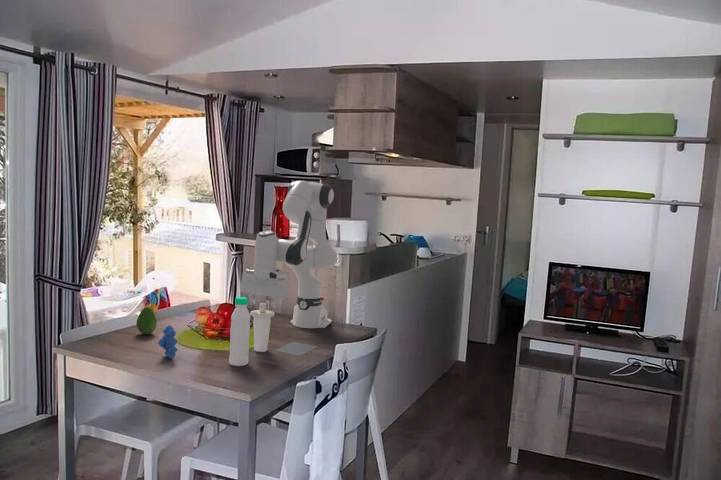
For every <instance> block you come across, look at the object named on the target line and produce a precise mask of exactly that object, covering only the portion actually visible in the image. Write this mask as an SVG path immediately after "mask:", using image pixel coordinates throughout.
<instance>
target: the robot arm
mask: <svg viewBox="0 0 721 480" xmlns="http://www.w3.org/2000/svg"><path fill="white" fill-rule="evenodd" d="M286 192H287V193H286V197H285V198H284V201H283V204H282V212H283V214H284V216H285V217H286V218H287V220H289V221H291V222H292V223H294V224H297V225H298V229H297V232H296V233H297V234H296V238H294V239H291V240H290V239H282V238H279V237H278V236H277V233H276V232H275V231H272V230H263V231H259V232H258V233H257V234H256V239H255V244H254V262H253V270H251V269H245V270H243V271H242V273H241V282H240V291H241V292H242V293H246V294H247V296H248V300H250V302H249V303H250V305H256V304H257V302H256V301H257V300H256V299H255V298H254V296H255V295H259V296H265V297H272V300H273V301H272V302H270V306H269V308H272V309H275V308H276V307H277V303H278V301H279V299H284V298H286V297H287V296H288V291H289V289H288V285H289V284H288V280H287V279H286V278H288V277H287V276H288V274H287V272H286V271H283V270H281V269H279V268H278V267H277V263H282V264H286V265H287V266H288V267H289V268H290V269H292V271H293V273H294V274H295V275H296V279H297V282H298V283H297V285H298V286H297V287H298V288H297V289H298V290H297V297H296V305H295V306H294V307H293V314H292V315H293V317H292V319H291V320H290V324H292V325H293V326H294V327H297V328H302V329H324V328H325V329H326V327H328V325H330V324H331V323H332V322H333V321H332V319H330V318H328V310H327V308H325V306H323V305H322V304H323V301H325V297H324V296H321V295H322V294H321V293H322V283H321V282H322V281H321V280H320V279H319V278H318V277H317V276H315V275H313V274H312V273H311V270H327V269H332V268H334V267H335V265H336V264H337V262H338V254H337V252H336V250H335V249H334V247H332V246H331V244H329V241H328V239H327V235H326V234H327V233H326V231H327V230H326V229H327V214H328V213H327V208H328V207H329V206H330V205H331V204H332V203H333V201H334V197H335V196H334V195H335V190H334V187H332V185H330V184H327V183H321V182H315V181H306V180H296V181H291V183H289V185H288V187H287V191H286ZM309 241H312V246H308V242H309Z"/></svg>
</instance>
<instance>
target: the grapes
mask: <svg viewBox="0 0 721 480" xmlns="http://www.w3.org/2000/svg"><path fill="white" fill-rule="evenodd" d="M162 332H163V336H162V338H160V339H159V340H158V342H157V344H158V346H160V348H162V349H163V350H165V352H164V355H165V356H166V357H167V358H168V359H170V360H173V359H174V358H175V356H176V355H177V354H176V353H177V351H178V348H177V347H176V346H175V345H177V344H178V340H177V338H175V336H176V334H177V333H176V331H175V329H174V328H173V326H172V325H170V324H168V325H167V326H166V327H165V328H164V329H163V330H162Z"/></svg>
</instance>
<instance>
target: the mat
mask: <svg viewBox="0 0 721 480" xmlns="http://www.w3.org/2000/svg"><path fill="white" fill-rule="evenodd" d="M316 348H318V345H313V344H306V343H301V342H295V341H291V342H290V343H288V344H286V345H284V346H281V347H279V348H277V349H274V350H273V352H277V353H282V354H287V355H293V356H299V357H301V356H302V355H304V354H307V353H309V352H311V351H312V350H315V349H316Z"/></svg>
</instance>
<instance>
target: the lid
mask: <svg viewBox="0 0 721 480" xmlns="http://www.w3.org/2000/svg"><path fill="white" fill-rule="evenodd" d="M258 307H259V308H258V309H256V310H255V309H254V310H251V311H250V312H249V314H250V317H253V318H254V317H259V318H268V317H271V318H273V317H274V316H275V312H274V311H273V310H270V309H269V310H268V309H267V303H265V302H263V303H259V306H258Z"/></svg>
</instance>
